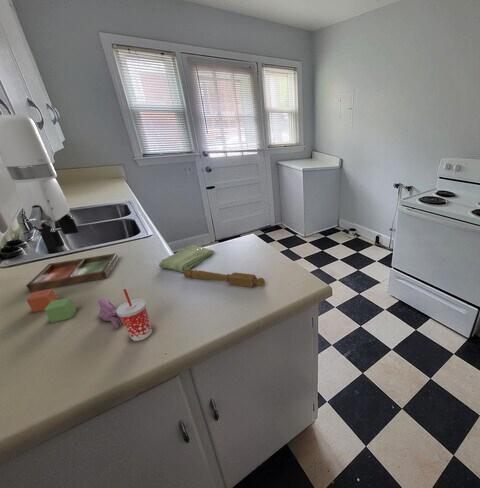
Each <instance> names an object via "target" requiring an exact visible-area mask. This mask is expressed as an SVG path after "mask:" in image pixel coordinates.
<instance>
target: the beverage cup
mask: <svg viewBox="0 0 480 488" xmlns="http://www.w3.org/2000/svg"><path fill="white" fill-rule="evenodd" d="M123 292H124V296H125V298H126V302H124V303H123V302H122V303H121V304H120V305H119V306H118V307H116V308H117V310H116V313H117V315H118V316H119V317H120V318H121V319H120V321H122V324H123V325H124V327H125V330H126V331H127V333H128V335H129V337H130V339H131V340H132V341H134V342H139V341H142V340H143V341H144V340H146V339H147V338H148V337H150V336H151V334H152V332H153V329H152V325H151V322H150V319H149V314H148V311H147V303H146V302H147V301H146V300H144V299H141V298H136V299H131V300H130V297H129V294H128V291H127V289H126V288H123Z"/></svg>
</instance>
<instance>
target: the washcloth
mask: <svg viewBox="0 0 480 488" xmlns="http://www.w3.org/2000/svg"><path fill="white" fill-rule="evenodd" d="M201 248H202V249H201ZM197 249H198V250H197ZM215 252H216V251H215V250H214V249H211V248H206V247H203V246H196V245H195V244H194V245H193V244H192V245H189V246H186V247H184V248H182V249H180V250H179V251H177V252H175V253H174V254H171V255H169V256H167V257H166V258H163V259H162V260H161V261H160V262H159V263H158V267H159V268H162V269H168V270H175V271H178V272H181V273H184V271H185V270H186V269H189V270H191V269H192V268H193V267H196V266H198V265H199V264H201V263H202V262H203V261H205V260H206V259H208V258H209V257H210V256H212V255H213V254H214V253H215Z"/></svg>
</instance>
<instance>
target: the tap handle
mask: <svg viewBox="0 0 480 488" xmlns="http://www.w3.org/2000/svg"><path fill="white" fill-rule="evenodd" d="M183 276H184V277H185V278H193V279H198V280H209V281H223V282H224V281H225V282H226V283H229V284H230V285H231V286H237V287H245V288H253V287H255V286H259V287H263V286H265V284H266V280H265V278H263V277H257V276H256V275H255V274H250V273H242V272H233V273H231V274H230V273H227V274H224V273H219V272H211V271H205V270H198V269H186V270H185V271H184V272H183Z"/></svg>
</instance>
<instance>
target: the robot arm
mask: <svg viewBox="0 0 480 488" xmlns="http://www.w3.org/2000/svg"><path fill="white" fill-rule="evenodd" d="M0 158H1V160H2V162H3V164H4V166H5V169H6V170H7V172H8V174H9V176H10V179H11V180H12V182H14V186H15V190H16V193H17V196H18V199H19V202H20V204H21V207H22V209H23V211H24V213H25V215H26V218H27V220H28V222H29V223H30V224H31V225H32V226H33V228H34V229H35V230H36V231H37V234H39V235H40V237H41V239H42V240H43V243H44V245H45V247H46V248H47V249H52V248H61V247H63V246H65V243H64V240H63V237H62V236H61V233H60V232H59V230H58V229H56V222H57V223H58V225H59V227H60V229H61V231H62V233H63V235H71V234H77V233H79V229H78V225H77V223H76V221H75V219H74V216H73V214H72V213H71V208H70V206H69V201H68V200H67V198H66V195H65V194H64V192H63V190H62V188H61V186H60V184H59V183H58V182H59V181H57V179H56V178H58V175H57V172H56V170H55V168H54V166H53V162H52V161H51V159H50V156H49V153H48V151H47V149H46V146H45V144H44V142H43V140H42V138H41V135H40V133H39V131H38V128H37V125H36V124H35V122H34V120H33V118H31V117H30V116H27V115H25V114H17V113H15V114H11V113H10V114H8V113H1V114H0Z"/></svg>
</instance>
